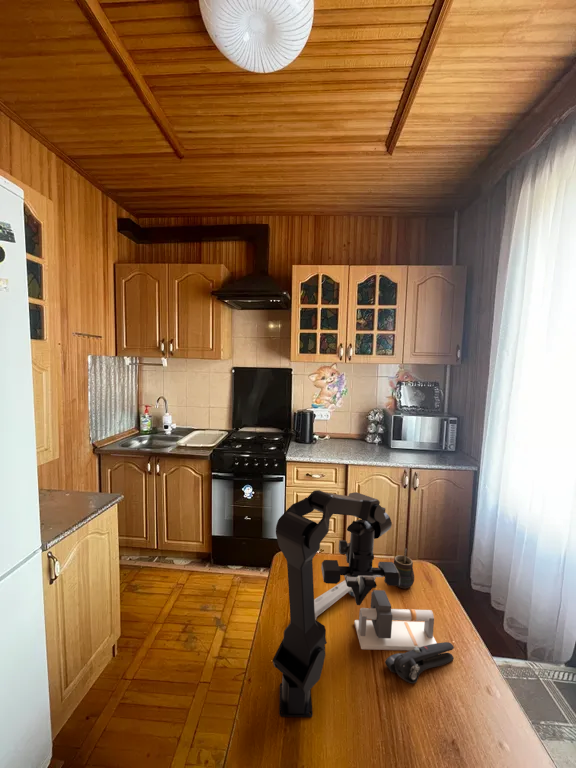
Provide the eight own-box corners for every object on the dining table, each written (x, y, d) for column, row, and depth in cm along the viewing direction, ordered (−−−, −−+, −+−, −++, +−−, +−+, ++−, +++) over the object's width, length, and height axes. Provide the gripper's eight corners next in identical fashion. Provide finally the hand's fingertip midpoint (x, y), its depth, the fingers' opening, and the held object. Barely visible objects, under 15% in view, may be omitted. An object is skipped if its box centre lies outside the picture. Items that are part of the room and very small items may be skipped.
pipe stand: (438, 651, 84) (441, 623, 83) (361, 649, 84) (363, 620, 83) (425, 625, 92) (427, 599, 91) (354, 623, 91) (356, 597, 91)
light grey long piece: (293, 605, 92) (355, 561, 107) (295, 627, 93) (356, 581, 108) (306, 617, 88) (369, 570, 103) (308, 640, 89) (369, 590, 104)
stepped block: (390, 640, 83) (392, 609, 83) (378, 640, 83) (380, 609, 83) (381, 615, 91) (383, 587, 91) (370, 615, 91) (371, 586, 91)
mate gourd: (389, 588, 106) (391, 557, 105) (389, 574, 113) (391, 545, 113) (414, 594, 104) (416, 562, 103) (413, 579, 111) (415, 549, 111)
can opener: (401, 693, 73) (402, 669, 73) (381, 665, 80) (383, 643, 79) (464, 670, 79) (466, 647, 79) (441, 646, 86) (443, 625, 85)
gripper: (389, 529, 94) (385, 584, 95) (320, 527, 93) (317, 582, 95) (403, 553, 83) (398, 614, 84) (325, 550, 82) (322, 612, 84)
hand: (357, 604), depth 87 cm, fingers closed
